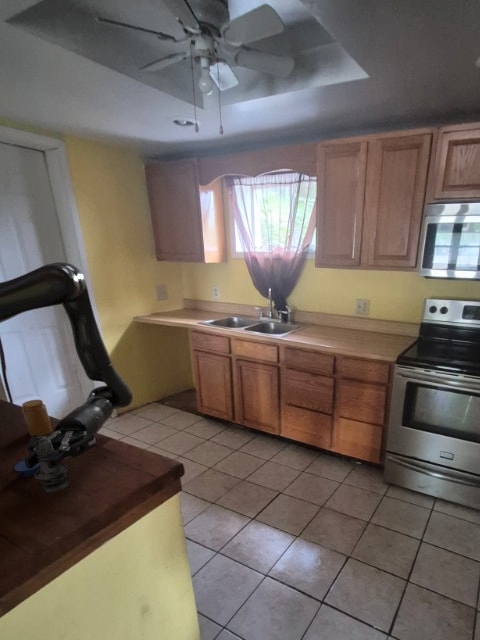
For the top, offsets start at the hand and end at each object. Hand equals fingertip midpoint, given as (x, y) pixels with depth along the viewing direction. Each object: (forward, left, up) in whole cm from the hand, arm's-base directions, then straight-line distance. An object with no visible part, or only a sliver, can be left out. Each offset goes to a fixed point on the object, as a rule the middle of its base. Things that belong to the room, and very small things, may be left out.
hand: (38, 464), depth 73 cm
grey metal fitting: (-1, +3, -7) cm, 8 cm away
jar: (-25, +27, -11) cm, 38 cm away
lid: (-15, +11, -9) cm, 21 cm away
